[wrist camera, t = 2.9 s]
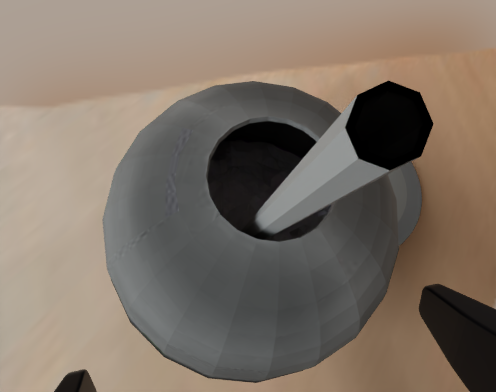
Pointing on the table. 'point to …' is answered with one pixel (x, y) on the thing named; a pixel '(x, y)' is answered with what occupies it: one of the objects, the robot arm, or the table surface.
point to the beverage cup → (260, 224)
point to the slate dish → (406, 199)
